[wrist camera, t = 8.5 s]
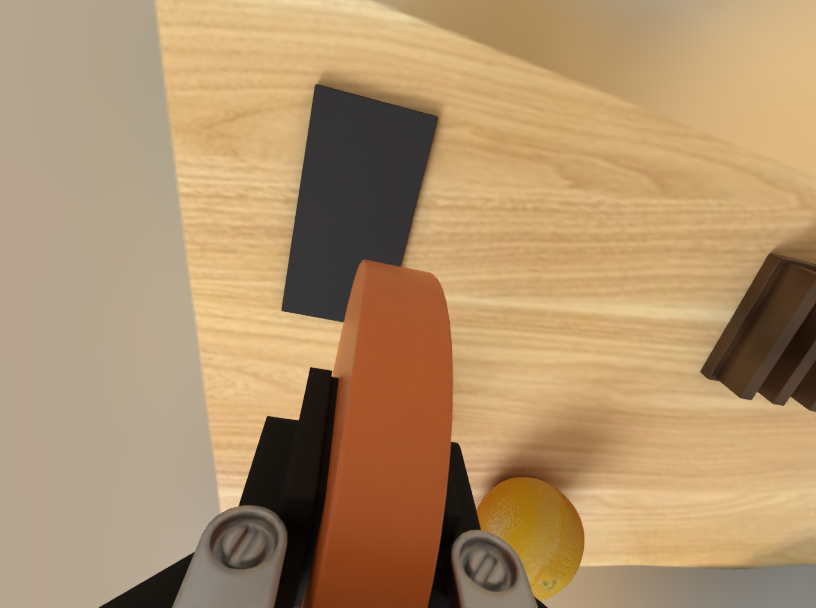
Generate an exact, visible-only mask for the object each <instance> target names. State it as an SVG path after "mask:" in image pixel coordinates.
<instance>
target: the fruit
mask: <svg viewBox="0 0 816 608" xmlns="http://www.w3.org/2000/svg"><path fill="white" fill-rule="evenodd" d="M476 511H477V515H478V519H479V523H480V527H481V530H482V531H486V532H490V533H492V534H494V535H496V536H498V537H500V538H502V539H503V540H504V541H506V542H507V543H508V544H509V545H510V546H511V547H512V548H513V549H514V550H515V552H516V553H517V554H518V556H519V558H520V560H521V562H522V564H523V566H524V569H525V571H526V574H527V577H528V580H529V583H530V586H531V589H532V592H533V595H534V596H535V597H536V598H537V599H538V600H542V599H545V598H549V597H551V596H553V595H555V594H556V593H558V592H559V591H561V590H562V589H563V588H564V587H565V586H566V585H567V584H568V583H569V582H570V581H571V580H572V578H573V577H574V575H575V574H576V572H577V570H578V568H579V565H580V562H581V559H582V555H583V551H584V531H583V526H582V522H581V519H580V517H579V515H578V513H577V511H576V509H575V508H574V506H573V505H572V503H571V502H570V501H569V500H568V499H567V498H566V496H564V495H563V494H562V493H561V492H560V491H559V490H558V489H556V488H555V487H553V486H552V485H550V484H548V483H547V482H544V481H542V480H539V479H535V478H529V477H515V478H510V479H507V480H505V481H503V482H501V483H499V484H498V485H497V486H495V487H494V488H493V489H492V490H491V491H490V492H489V493H488V494H487V495H486V496H485V497H484V499H483V500H482V502H481V503H480V505H479V506H478V508H477V510H476Z"/></svg>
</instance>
